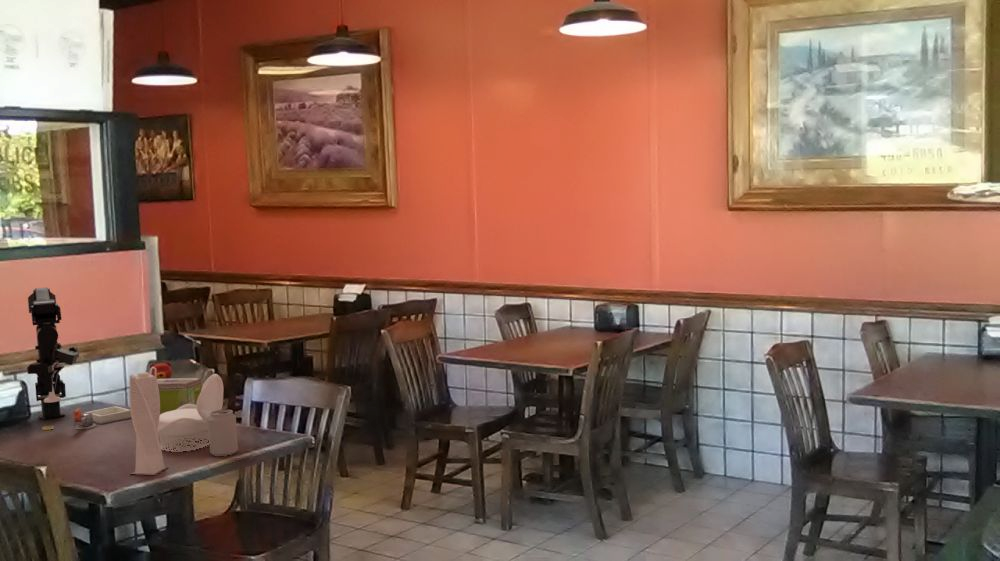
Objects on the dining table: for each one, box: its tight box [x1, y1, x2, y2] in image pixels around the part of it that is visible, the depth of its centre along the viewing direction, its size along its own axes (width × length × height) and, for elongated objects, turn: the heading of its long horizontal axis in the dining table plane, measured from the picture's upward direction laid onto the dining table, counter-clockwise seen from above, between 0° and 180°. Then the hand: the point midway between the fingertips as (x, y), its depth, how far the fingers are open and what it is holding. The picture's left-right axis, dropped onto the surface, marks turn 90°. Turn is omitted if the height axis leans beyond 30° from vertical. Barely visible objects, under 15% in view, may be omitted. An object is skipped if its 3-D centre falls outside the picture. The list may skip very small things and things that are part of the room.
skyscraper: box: [128, 367, 169, 476], centre depth 271 cm, size 8×8×28 cm
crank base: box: [74, 422, 98, 430], centre depth 329 cm, size 6×6×1 cm
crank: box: [72, 407, 94, 427], centre depth 324 cm, size 12×4×7 cm, turn 7°
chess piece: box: [44, 375, 62, 403], centre depth 322 cm, size 5×5×10 cm
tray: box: [84, 405, 132, 425], centre depth 339 cm, size 11×11×2 cm
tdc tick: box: [41, 425, 54, 431], centre depth 327 cm, size 3×1×1 cm, turn 97°
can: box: [208, 409, 239, 457], centre depth 288 cm, size 8×8×12 cm
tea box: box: [157, 377, 203, 415], centre depth 323 cm, size 15×10×15 cm, turn 80°
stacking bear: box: [149, 362, 173, 379], centre depth 338 cm, size 11×10×18 cm
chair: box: [157, 373, 225, 453], centre depth 299 cm, size 20×20×20 cm
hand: (51, 391), depth 322 cm, fingers closed on chess piece
